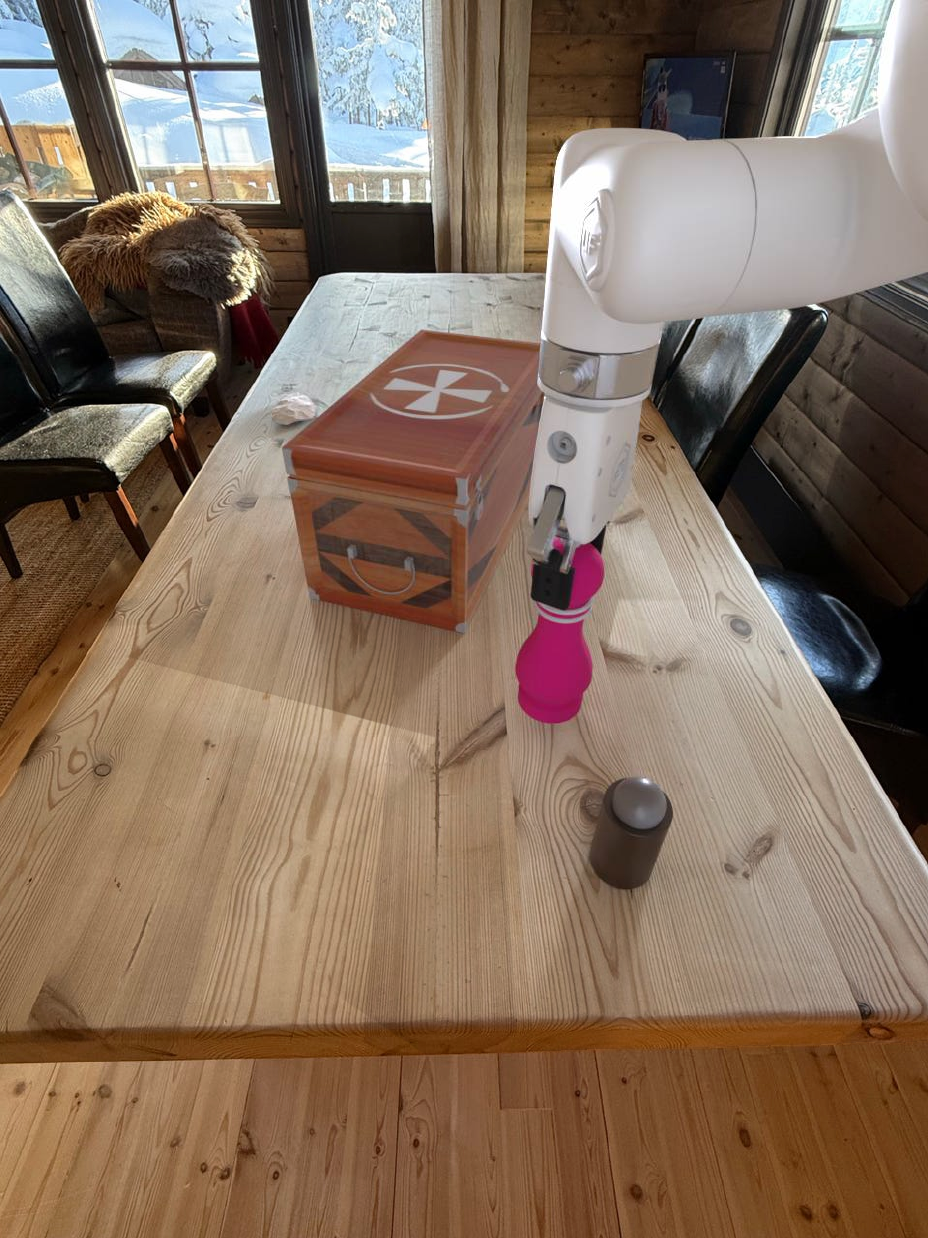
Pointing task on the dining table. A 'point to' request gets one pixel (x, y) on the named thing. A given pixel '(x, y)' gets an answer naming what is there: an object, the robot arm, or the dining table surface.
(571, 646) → the pepper mill
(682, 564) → the dining table surface
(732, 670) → the dining table surface
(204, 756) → the dining table surface
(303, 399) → the stone
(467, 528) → the wooden box
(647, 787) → the salt shaker
